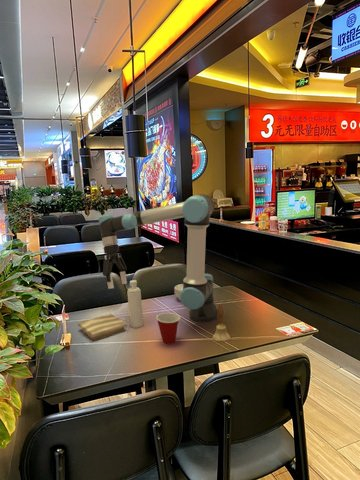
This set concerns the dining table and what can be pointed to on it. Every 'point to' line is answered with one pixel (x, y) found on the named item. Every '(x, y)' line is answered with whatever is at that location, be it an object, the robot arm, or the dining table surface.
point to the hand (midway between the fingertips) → (118, 286)
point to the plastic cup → (168, 326)
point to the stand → (102, 326)
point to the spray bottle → (135, 305)
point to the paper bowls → (178, 290)
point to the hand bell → (221, 327)
